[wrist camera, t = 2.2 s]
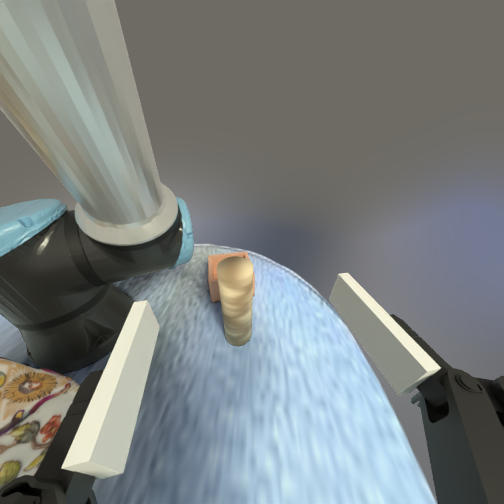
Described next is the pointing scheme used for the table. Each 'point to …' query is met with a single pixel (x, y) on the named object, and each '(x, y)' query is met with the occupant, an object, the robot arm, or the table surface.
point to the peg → (236, 298)
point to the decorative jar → (29, 415)
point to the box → (212, 273)
